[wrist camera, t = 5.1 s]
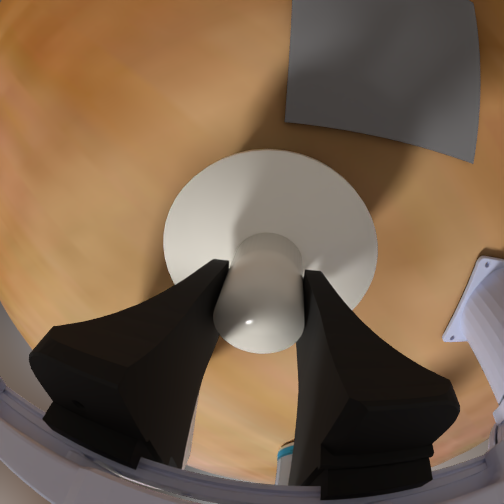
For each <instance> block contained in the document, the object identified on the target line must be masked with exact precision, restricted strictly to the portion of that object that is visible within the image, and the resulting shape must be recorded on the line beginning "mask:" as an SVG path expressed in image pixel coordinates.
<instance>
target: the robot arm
mask: <svg viewBox="0 0 504 504" xmlns="http://www.w3.org/2000/svg"><path fill="white" fill-rule="evenodd" d="M486 262H487V263H486ZM228 270H229V261H228V260H220V259H212V260H211V261H209V262H208V263H206V264H205V265H204V266H202V267H201V268H199V269H198V270H197V271H195V272H194V273H192V274H191V275H189V276H188V277H187V278H185V279H184V280H182V281H180V282H179V283H177V284H176V285H174V286H172V287H171V288H169V289H167V290H166V291H164V292H162V293H160V294H159V295H157V296H155V297H153V298H151V299H149V300H146V301H144V302H142V303H140V304H138V305H135V306H133V307H130V308H127V309H125V310H122V311H119V312H117V313H114V314H111V315H107V316H104V317H100V318H96V319H92V320H88V321H84V322H79V323H73V324H67V325H61V326H53V327H52V328H51V329H50V331H49V332H48V333H47V334H46V335H45V336H44V338H43V339H42V340H41V341H40V342H39V343H38V345H37V346H36V347H35V348H34V349H33V351H32V352H31V353H30V354H29V362H30V366H31V369H32V370H33V372H34V374H35V376H36V377H37V379H38V381H39V382H40V384H41V385H42V386H43V388H44V389H45V391H46V392H47V393H48V395H49V396H50V397H51V399H52V400H53V403H52V404H51V406H50V407H49V409H48V410H47V412H44V411H43V410H41V409H40V408H38V407H36V406H35V405H33V404H32V403H30V402H29V401H27V400H26V399H24V398H23V397H21V396H20V395H18V394H17V393H16V392H14V391H13V390H12V389H10V388H9V387H7V386H6V384H5V382H4V380H3V379H2V378H1V376H0V460H1V461H2V462H3V463H4V464H5V465H6V466H8V468H9V469H10V470H11V471H13V472H14V473H15V474H16V475H17V476H18V477H19V478H20V479H21V480H23V481H24V482H25V483H26V484H27V485H29V486H30V487H31V488H32V489H33V490H35V491H36V492H37V493H38V494H40V495H41V496H42V497H44V498H45V499H46V500H48V501H49V502H50V503H52V504H201V503H196V502H192V501H188V500H183V499H180V498H176V497H173V496H169V495H166V494H162V493H159V492H156V491H153V490H150V489H147V488H144V487H142V486H138V485H136V484H133V483H131V482H128V481H126V480H123V479H121V478H120V476H119V475H117V474H120V475H122V476H125V477H127V478H130V479H132V480H135V481H138V482H140V483H143V484H146V485H149V486H152V487H155V488H158V489H161V490H164V491H168V492H172V493H175V494H179V495H182V496H186V497H190V498H194V499H199V500H203V501H209V502H213V503H218V504H504V259H499V258H494V257H488V256H480V257H479V258H478V260H477V262H476V265H475V267H474V270H473V272H472V275H471V277H470V280H469V282H468V284H467V287H466V289H465V291H464V294H463V296H462V298H461V300H460V302H459V304H458V307H457V309H456V311H455V313H454V315H453V317H452V319H451V321H450V323H449V325H448V326H447V328H446V330H445V332H444V334H443V336H442V339H443V341H444V342H460V341H468V343H469V344H470V346H471V348H472V350H473V352H474V354H475V356H476V357H477V359H478V361H479V363H480V365H481V367H482V369H483V371H484V373H485V375H486V377H487V380H488V382H489V384H490V386H491V388H492V390H493V393H494V395H495V397H496V400H497V402H498V404H499V407H498V408H497V409H496V410H495V411H494V412H493V416H494V418H495V421H496V423H495V424H494V426H493V427H492V429H491V432H490V436H489V444H488V451H487V452H486V453H485V454H484V455H482V456H479V457H477V458H474V459H471V460H468V461H465V462H462V463H459V464H456V465H453V466H450V467H446V468H443V469H440V470H436V471H432V472H431V466H430V461H429V457H432V456H433V454H434V450H433V445H432V443H433V442H435V441H436V440H437V439H438V438H439V437H440V436H441V435H442V434H443V433H444V432H445V431H446V430H447V429H449V428H450V426H451V425H452V424H453V423H454V422H455V420H456V419H457V417H458V414H459V412H460V405H459V402H458V399H457V397H456V394H455V391H454V389H453V386H452V384H451V382H450V380H448V379H446V378H444V377H442V376H440V375H438V374H436V373H434V372H432V371H430V370H428V369H426V368H424V367H422V366H421V365H419V364H417V363H416V362H414V361H412V360H411V359H409V358H407V357H406V356H404V355H403V354H401V353H400V352H398V351H397V350H396V349H394V348H393V347H392V346H390V345H389V344H388V343H386V342H385V341H384V340H382V339H381V338H380V337H379V336H378V335H376V334H375V333H374V332H373V331H372V330H371V329H370V328H369V327H368V326H366V325H365V324H364V323H363V322H362V321H361V320H360V319H359V318H358V317H357V316H356V314H355V313H354V312H353V311H352V310H351V309H350V308H349V307H348V306H347V304H346V303H345V302H344V301H343V300H342V298H341V297H340V296H339V295H338V293H337V292H336V291H335V289H334V288H333V287H332V285H331V284H330V283H329V281H328V280H327V278H326V277H325V276H324V274H323V273H322V272H321V271H316V270H307V269H305V272H304V278H303V283H304V330H303V333H302V335H301V337H300V338H299V339H298V340H297V342H296V348H297V364H298V382H299V393H298V407H297V419H296V429H295V439H294V447H293V455H292V462H291V469H290V475H289V481H288V486H286V485H271V484H260V483H251V482H243V481H236V480H230V479H224V478H218V477H213V476H208V475H203V474H199V473H194V472H190V471H186V470H182V465H183V460H184V454H185V449H186V444H187V440H188V435H189V431H190V426H191V422H192V417H193V413H194V409H195V405H196V401H197V397H198V394H199V390H200V386H201V382H202V379H203V376H204V373H205V370H206V368H207V365H208V363H209V360H210V358H211V355H212V353H213V350H214V348H215V345H216V343H217V340H218V337H219V335H220V334H219V333H218V331H217V330H216V328H215V325H214V321H213V312H214V309H215V306H216V303H217V300H218V298H219V295H220V292H221V289H222V287H223V284H224V281H225V279H226V276H227V273H228ZM109 470H110V471H109ZM111 471H113V472H115V473H117V474H115V473H113V472H111Z"/></svg>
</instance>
